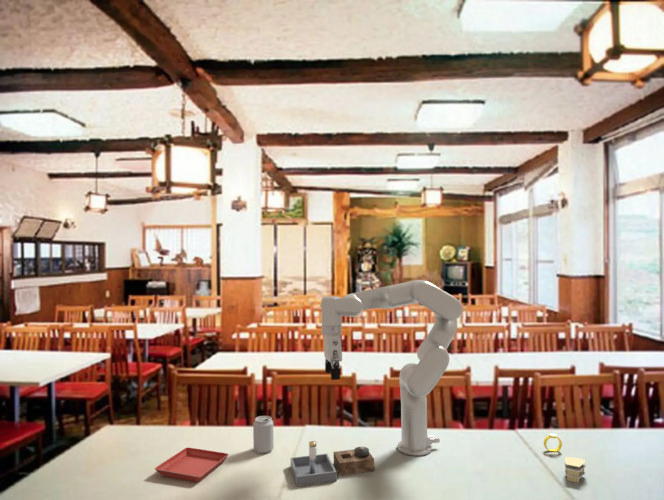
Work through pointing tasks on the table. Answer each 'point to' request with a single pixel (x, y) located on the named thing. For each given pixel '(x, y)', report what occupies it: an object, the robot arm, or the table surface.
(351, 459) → the block
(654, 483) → the table surface
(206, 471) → the plant saucer
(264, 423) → the can
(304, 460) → the tray
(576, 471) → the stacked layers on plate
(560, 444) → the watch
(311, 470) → the lock pin
